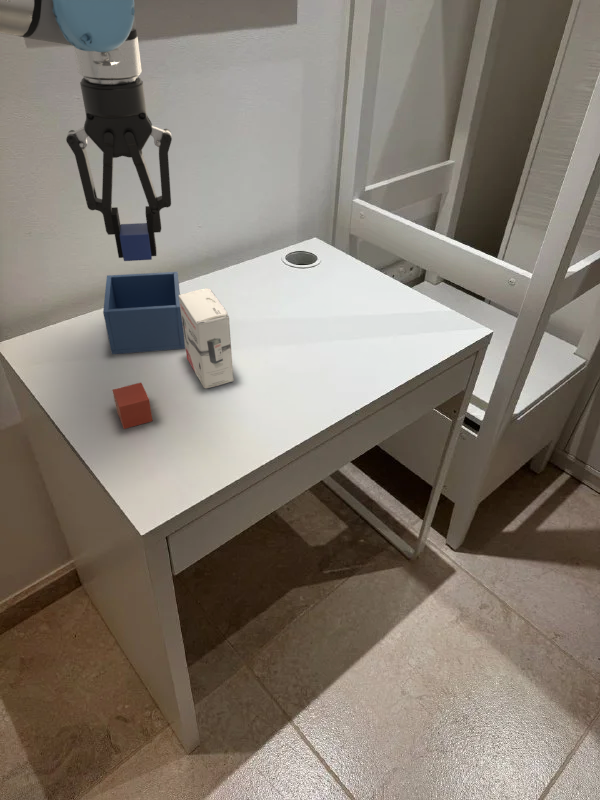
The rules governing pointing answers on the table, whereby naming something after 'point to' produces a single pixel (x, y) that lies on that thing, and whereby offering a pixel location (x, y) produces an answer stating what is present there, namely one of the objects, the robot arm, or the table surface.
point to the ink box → (207, 337)
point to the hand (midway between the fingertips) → (137, 252)
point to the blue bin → (143, 312)
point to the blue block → (135, 242)
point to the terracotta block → (132, 405)
